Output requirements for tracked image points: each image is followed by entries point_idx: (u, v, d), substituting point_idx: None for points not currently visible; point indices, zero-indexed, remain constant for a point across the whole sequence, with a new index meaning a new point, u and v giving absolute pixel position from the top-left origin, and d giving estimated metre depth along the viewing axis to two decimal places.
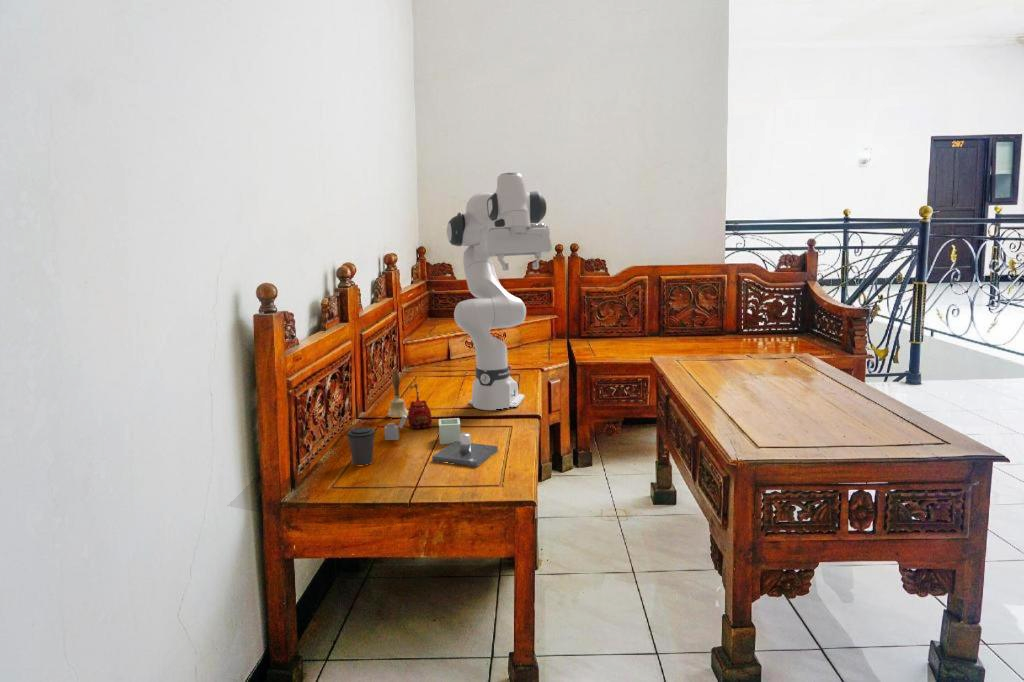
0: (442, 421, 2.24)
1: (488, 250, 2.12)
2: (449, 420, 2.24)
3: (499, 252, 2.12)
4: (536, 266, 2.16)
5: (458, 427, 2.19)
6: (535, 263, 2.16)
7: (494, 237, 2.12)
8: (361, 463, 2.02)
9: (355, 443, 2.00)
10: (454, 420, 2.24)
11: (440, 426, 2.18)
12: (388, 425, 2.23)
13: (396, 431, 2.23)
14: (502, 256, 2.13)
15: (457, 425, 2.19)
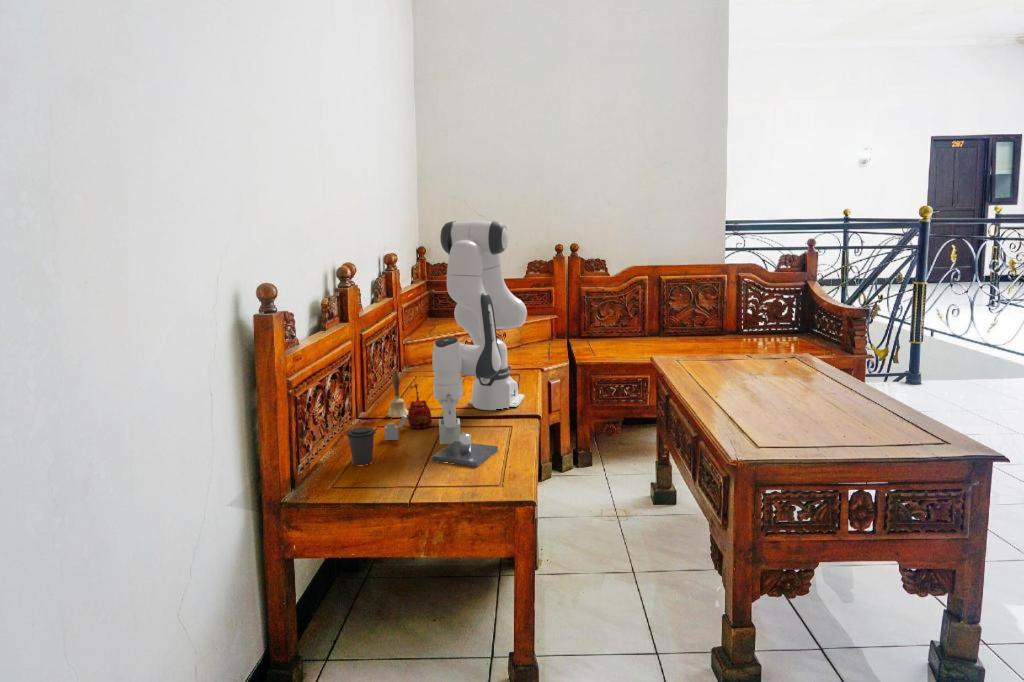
0: (442, 421, 2.24)
1: None
2: None
3: None
4: None
5: (458, 427, 2.19)
6: (447, 434, 2.18)
7: None
8: (361, 463, 2.02)
9: (355, 443, 2.00)
10: None
11: (440, 426, 2.18)
12: (388, 425, 2.23)
13: (396, 431, 2.23)
14: None
15: (457, 425, 2.18)
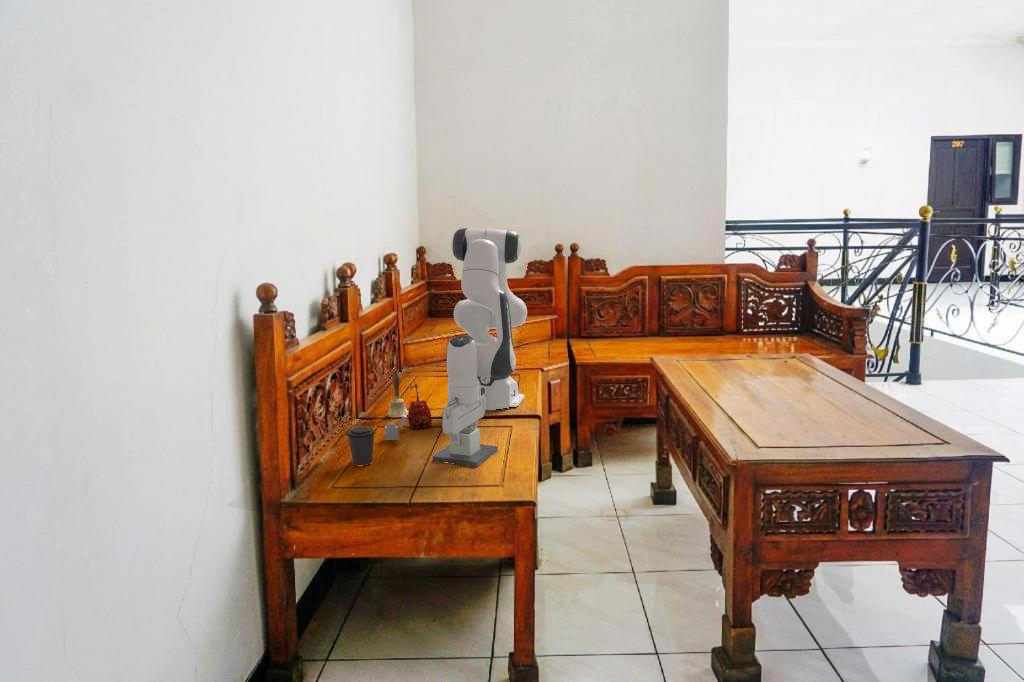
0: None
1: None
2: (468, 429, 2.09)
3: None
4: None
5: (467, 438, 2.03)
6: None
7: None
8: (361, 463, 2.02)
9: (355, 443, 2.00)
10: (473, 430, 2.09)
11: None
12: (388, 425, 2.23)
13: (396, 431, 2.23)
14: None
15: (466, 436, 2.03)
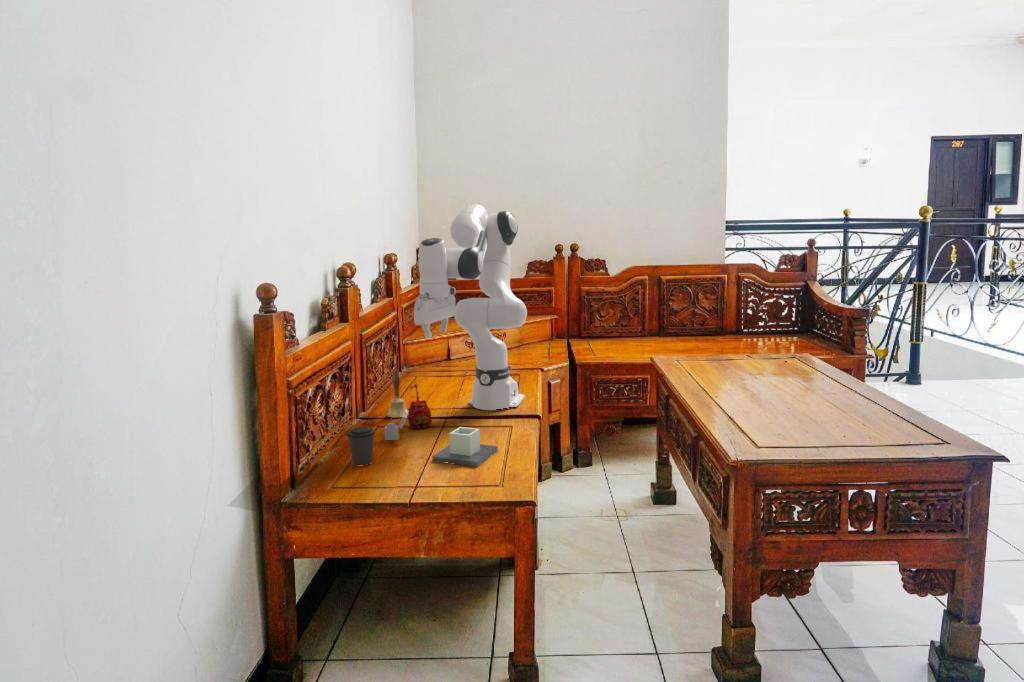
0: (462, 429, 2.10)
1: None
2: (468, 429, 2.09)
3: None
4: None
5: (467, 438, 2.03)
6: None
7: None
8: (361, 463, 2.02)
9: (355, 443, 2.00)
10: (473, 430, 2.09)
11: (450, 434, 2.05)
12: (388, 425, 2.23)
13: (396, 431, 2.23)
14: None
15: (466, 436, 2.03)
